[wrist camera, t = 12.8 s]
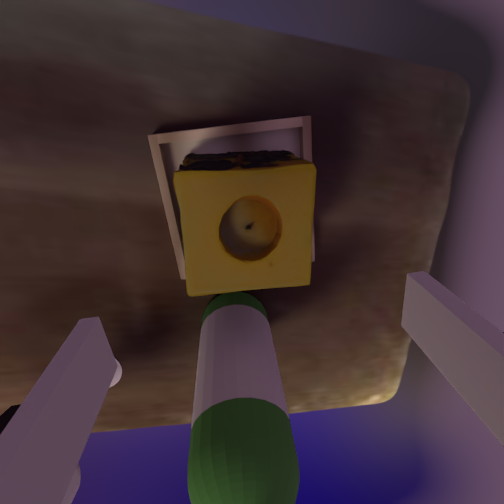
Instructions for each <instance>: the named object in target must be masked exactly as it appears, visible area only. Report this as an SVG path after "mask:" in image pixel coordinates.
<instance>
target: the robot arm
mask: <svg viewBox="0 0 504 504" xmlns="http://www.w3.org/2000/svg"><path fill="white" fill-rule="evenodd" d="M401 326H402V327H403V328H404V329H405V330H406V332H407V333H408V334H409V335H410V336H411V338H412V339H413V340H414V341H415V342H416V343H417V345H418V346H419V347H420V348H421V349H422V351H423V352H424V353H425V354H426V355H427V357H428V358H429V359H430V360H431V361H432V362H433V364H434V365H435V366H436V367H437V368H438V370H439V371H440V372H441V373H442V374H443V375H444V376H445V378H446V379H447V380H448V381H449V383H450V384H451V385H452V386H453V387H454V389H455V390H456V391H457V392H458V393H459V394H460V396H461V397H462V398H463V399H464V400H465V402H466V403H467V404H468V405H469V406H470V407H471V409H472V410H473V411H474V412H475V413H476V415H477V416H478V417H479V418H480V419H481V421H482V422H483V423H484V424H485V425H486V426H487V428H488V429H489V430H490V431H491V432H492V434H493V435H494V436H495V437H496V438H497V440H498V441H499V442H500V443H501V444H502V445H503V447H504V332H501V331H500V330H499V329H498V328H496V327H495V326H494V325H493V324H492V323H490V322H489V321H488V320H486V319H485V318H484V317H482V316H481V315H480V314H479V313H477V312H476V311H475V310H473V309H472V308H471V307H470V306H468V305H467V304H466V303H464V302H463V301H462V300H461V299H459V298H458V297H457V296H456V295H454V294H453V293H452V292H451V291H449V290H448V289H447V288H445V287H444V286H443V285H441V284H440V283H439V282H438V281H436V280H435V279H434V278H432V277H431V276H430V275H429V274H427V273H426V272H425V271H422V272H415V273H408V274H407V279H406V288H405V297H404V305H403V314H402V323H401ZM117 367H118V366H117V363H116V361H115V358H114V356H113V353H112V350H111V348H110V345H109V342H108V340H107V337H106V335H105V332H104V329H103V327H102V324H101V321H100V319H99V317H92V318H85V319H80V320H79V321H78V323H77V324H76V326H75V327H74V329H73V330H72V332H71V333H70V334H69V336H68V337H67V339H66V340H65V342H64V343H63V345H62V346H61V347H60V349H59V350H58V352H57V353H56V355H55V356H54V358H53V359H52V361H51V362H50V363H49V365H48V366H47V368H46V369H45V371H44V372H43V374H42V375H41V376H40V378H39V379H38V381H37V382H36V384H35V385H34V387H33V388H32V390H31V391H30V392H29V394H28V395H27V397H26V398H25V400H24V401H23V403H22V404H21V405H14V406H11V407H10V408H9V409H8V410H6V411H5V412H4V413H3V414H2V415H1V416H0V504H61V503H62V501H63V498H64V496H65V493H66V491H67V489H68V486H69V484H70V481H71V479H72V476H73V474H74V472H75V469H76V467H77V464H78V462H79V459H80V457H81V455H82V452H83V449H84V447H85V445H86V442H87V440H88V438H89V435H90V433H91V430H92V428H93V425H94V423H95V421H96V418H97V416H98V413H99V411H100V408H101V406H102V404H103V401H104V399H105V396H106V394H107V391H108V389H109V387H110V384H111V382H112V379H113V377H114V374H115V372H116V370H117Z"/></svg>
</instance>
